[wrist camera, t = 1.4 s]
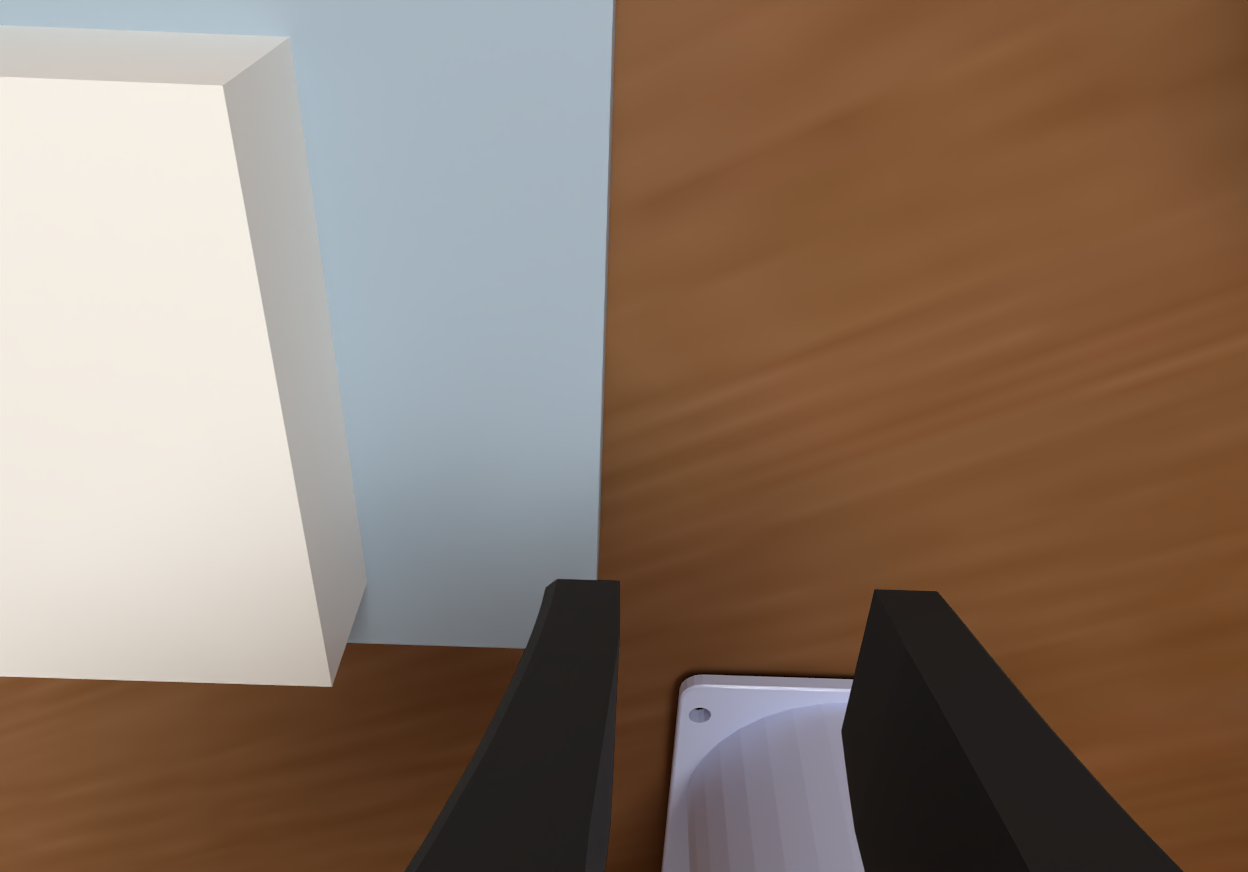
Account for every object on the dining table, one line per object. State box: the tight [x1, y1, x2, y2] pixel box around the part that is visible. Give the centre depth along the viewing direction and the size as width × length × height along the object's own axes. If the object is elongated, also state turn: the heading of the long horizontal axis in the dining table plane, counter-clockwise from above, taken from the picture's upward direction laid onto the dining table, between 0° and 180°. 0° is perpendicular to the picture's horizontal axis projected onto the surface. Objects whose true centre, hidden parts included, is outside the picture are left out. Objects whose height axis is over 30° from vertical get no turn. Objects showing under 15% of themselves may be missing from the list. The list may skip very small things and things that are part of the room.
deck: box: [0, 0, 616, 648], centre depth 16 cm, size 12×17×4 cm
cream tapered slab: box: [0, 25, 367, 687], centre depth 14 cm, size 9×6×2 cm, turn 178°
